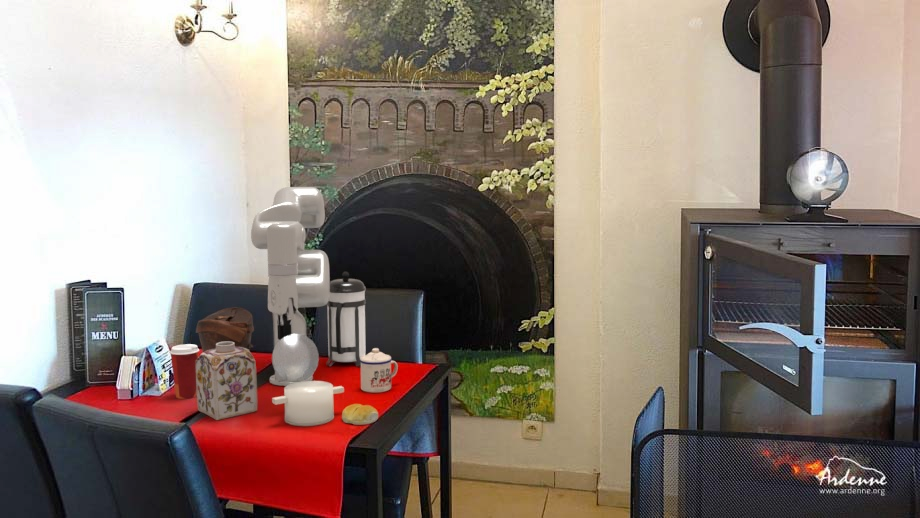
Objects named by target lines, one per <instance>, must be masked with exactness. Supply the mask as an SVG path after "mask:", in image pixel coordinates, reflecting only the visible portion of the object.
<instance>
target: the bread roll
mask: <svg viewBox="0 0 920 518" xmlns="http://www.w3.org/2000/svg"><path fill="white" fill-rule="evenodd" d="M378 419H379V411H378V410H377V409H376V408H375V407H374V406H372V405H370V404H365V405H363V404H361V403H353V404H350V405H347V406H346V407H345V408H344V409H343V410H342V414H341V420H342V421H343V423H346V424H353V425H354V426H355V425H356V426H358V425H359V426H362V425H365V426H366V425H369V424H373V423H374V422H376V421H377V420H378Z"/></svg>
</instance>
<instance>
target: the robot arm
mask: <svg viewBox="0 0 920 518" xmlns="http://www.w3.org/2000/svg"><path fill="white" fill-rule="evenodd" d="M325 212H326V211H325V201H324V196H323V194H322V192H321V190H319V188H317V187H315V186H287V187H283V188H280V189H279V190H277V191H276V193H275V194H274V197H273V202H272V205H271V206H269V207H268V208H265V209H263V210H261V211H260V212H258V213H257V214H255V217H254V219H253V222H252V224H251V231H250V239H251V243H252V245H253V246H254V248H256V249H259V250H266V251H267V277H268V285H267V309H268V311H269V312H270V313H272V325H273V328H272V329H273V348H274V347H275V345H276V344H277V343H278V341H279V340H281V339H282V338H283V337H285V336H287V335H291V334H301V335H304V336H306V337H308V336H307V335H308V334H307V322H306V319H305V317H304V316H303V314H302V313H301V312H300V311H299V310H298V309H299V308H319V307H323V306H327V303H328V301H329V297H330V282H331V280H330V279H331V277H330V261H329V257H328V254H327V253H326V252H325V251H323V250H321V249H305V241H306V238H307V237H306V236H307V235H306V234H307V233H306V229H315V228H320V227H322V226H323V225H324V223H325V220H326V219H325V217H326V213H325ZM313 375H314V374H312V376H310V377H309V378H308V379H306V380H304V381H314V380H313V379H314V376H313ZM301 382H303V381H301ZM269 383H270V384H272V385H275V386H280V387H281V386H283V387H286V386H287V385H289V384H292V383H296V382H289V381H286V380H284V379H282V378H281V377H280V376H279V375H278V374H277V373H276V371H275V370H274V374H273V375H271V376H270V377H269Z"/></svg>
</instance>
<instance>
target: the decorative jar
mask: <svg viewBox="0 0 920 518" xmlns="http://www.w3.org/2000/svg"><path fill="white" fill-rule="evenodd" d="M195 362H196V390H197V396H196V402H197V403H196V404H197V410H198V411H199V412H200V413H202V414H205V415H207V416H209V417H210V418H212V419H214V420H216V421H220V420H224V419H228V418H232V417H233V418H234V417H237V416H241V415H246V414H250V413H254V412H257V411H258V383H257V382H258V381H257V378H258V377H257V366H256V360H255V358H254V355H253V354H252V352H251V351H249V349H246V348H242V347H235V343H234V342H229V341H224V342H219V343H216V348H214V349H210V350H206V351H204V352H203V351H202V353H200V355H198V358H197V360H196V361H195Z"/></svg>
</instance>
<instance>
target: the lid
mask: <svg viewBox="0 0 920 518" xmlns="http://www.w3.org/2000/svg"><path fill="white" fill-rule="evenodd" d="M319 360H320V355H319V351H318V347H317V346H316V343H315V342H314V341H313V340H312V339H311V338H309V336H307V337H306V336H304V335H301V334H291V335H287V336H285V337H283V338H282V339H281V340H279V341H278V343H277V344H276V345H275V347H274V346H273V350H272V354H271V362H272V367H273V370H274V372H275V371H276V373H277V374H278V375H279V376H280V377H281V378H282V379H284V380H286V381H289V382H301V381H304V380H306V379H308V378H309V377H310V376H312V375H314V373H315V372H316V370H317V368H318V366H319Z"/></svg>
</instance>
